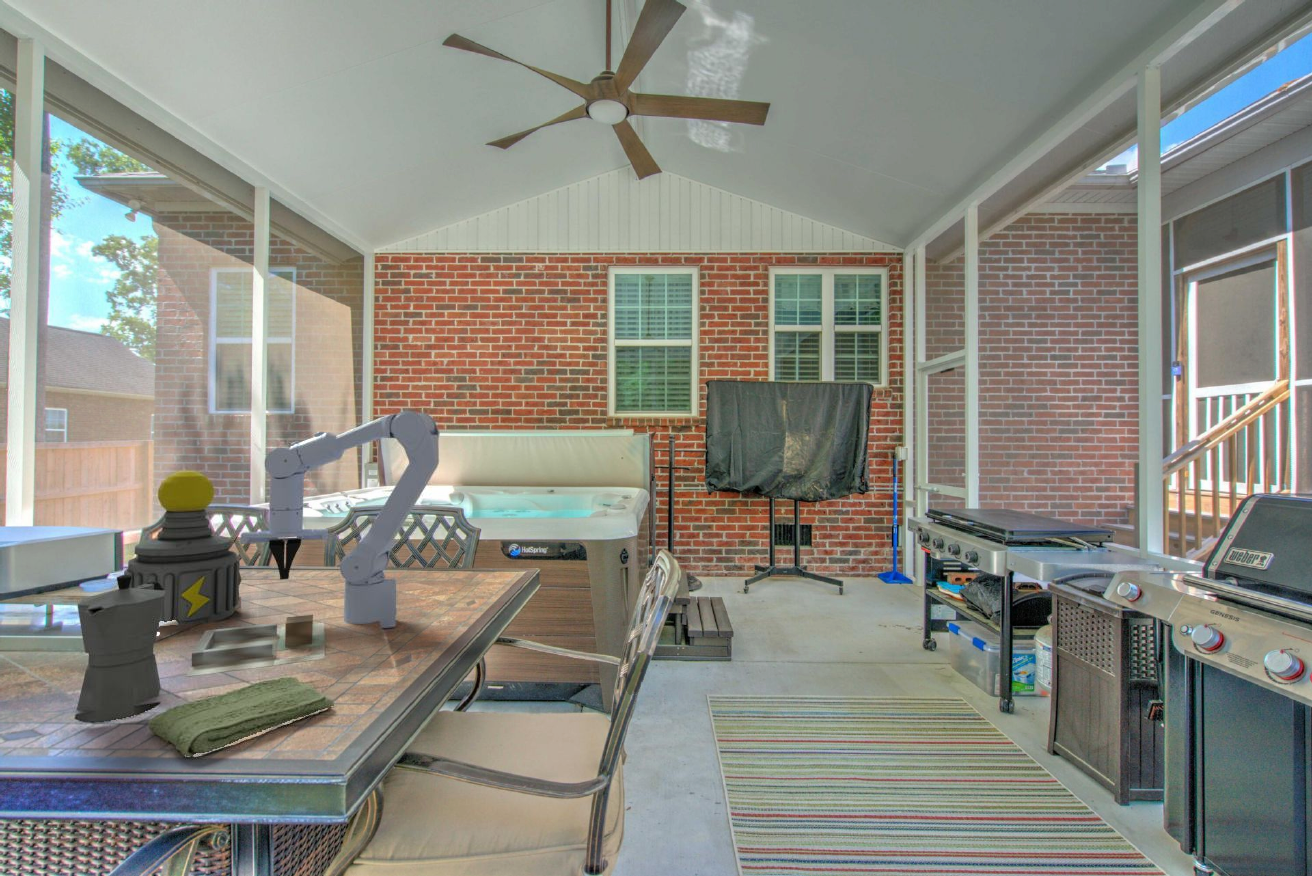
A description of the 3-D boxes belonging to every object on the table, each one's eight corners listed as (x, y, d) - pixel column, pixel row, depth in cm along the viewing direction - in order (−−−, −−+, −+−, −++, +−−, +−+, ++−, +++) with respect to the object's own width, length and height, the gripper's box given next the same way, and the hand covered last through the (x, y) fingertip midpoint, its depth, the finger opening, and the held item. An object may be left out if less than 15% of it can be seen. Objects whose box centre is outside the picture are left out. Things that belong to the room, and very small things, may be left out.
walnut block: (312, 637, 109) (312, 614, 109) (312, 643, 106) (312, 620, 106) (286, 640, 107) (286, 617, 108) (285, 646, 104) (285, 623, 104)
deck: (323, 630, 118) (324, 612, 118) (324, 667, 99) (324, 646, 99) (209, 643, 110) (209, 623, 110) (185, 686, 90) (186, 663, 90)
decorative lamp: (112, 619, 123) (116, 469, 123) (223, 601, 137) (227, 467, 137) (132, 639, 110) (137, 473, 111) (252, 618, 125) (256, 471, 125)
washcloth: (339, 712, 84) (340, 688, 84) (187, 767, 69) (188, 739, 69) (289, 689, 91) (290, 668, 91) (142, 735, 76) (142, 709, 76)
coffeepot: (131, 727, 77) (135, 585, 78) (41, 734, 75) (46, 587, 76) (193, 681, 92) (196, 561, 93) (120, 685, 90) (124, 563, 91)
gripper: (239, 512, 113) (237, 585, 113) (328, 509, 120) (326, 579, 120) (243, 508, 120) (241, 578, 119) (328, 506, 127) (326, 572, 126)
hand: (284, 578), depth 120 cm, fingers closed
